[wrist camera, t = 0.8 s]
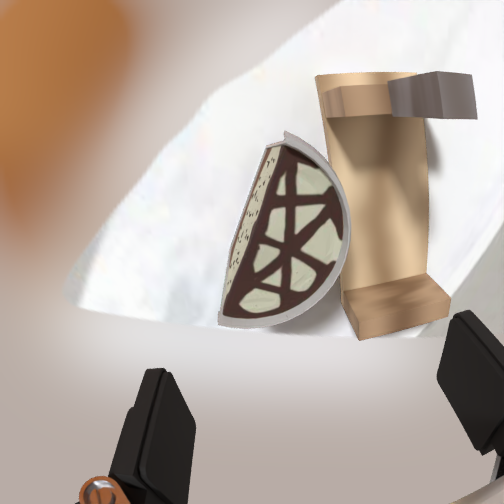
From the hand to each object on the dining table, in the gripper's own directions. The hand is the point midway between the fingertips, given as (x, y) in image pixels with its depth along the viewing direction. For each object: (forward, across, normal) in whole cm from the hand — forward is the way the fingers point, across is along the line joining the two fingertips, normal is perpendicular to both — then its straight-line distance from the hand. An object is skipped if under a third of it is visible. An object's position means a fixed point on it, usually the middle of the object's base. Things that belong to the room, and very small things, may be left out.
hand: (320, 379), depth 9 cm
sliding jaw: (+17, -10, -8) cm, 22 cm away
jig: (+19, -10, 0) cm, 21 cm away
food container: (+19, -1, 0) cm, 19 cm away
